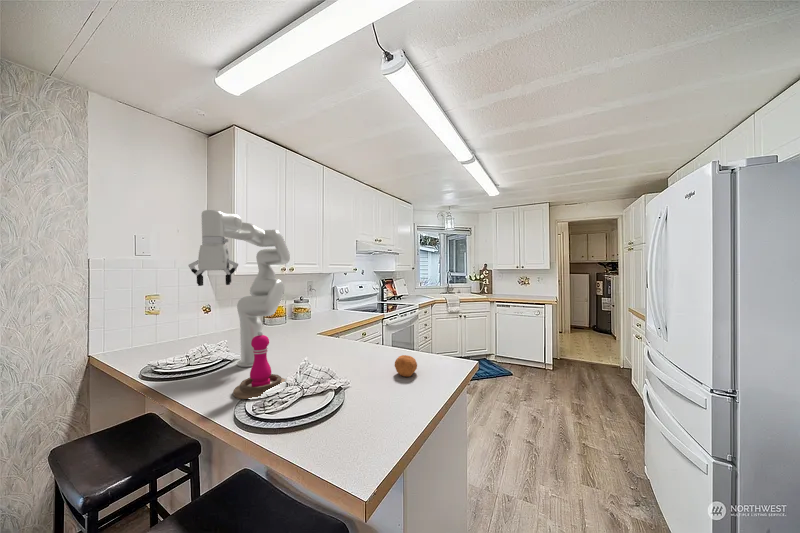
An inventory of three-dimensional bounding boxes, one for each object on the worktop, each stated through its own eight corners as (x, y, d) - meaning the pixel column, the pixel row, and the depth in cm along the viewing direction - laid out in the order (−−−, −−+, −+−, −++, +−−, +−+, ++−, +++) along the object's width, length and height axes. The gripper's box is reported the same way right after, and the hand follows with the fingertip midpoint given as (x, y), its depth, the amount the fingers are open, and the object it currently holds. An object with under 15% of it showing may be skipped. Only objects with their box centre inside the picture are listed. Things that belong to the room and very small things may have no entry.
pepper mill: (263, 390, 106) (262, 333, 106) (245, 388, 108) (244, 332, 108) (275, 382, 113) (274, 329, 113) (258, 381, 115) (257, 328, 115)
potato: (390, 377, 120) (389, 358, 120) (400, 368, 130) (400, 350, 130) (412, 380, 116) (411, 360, 116) (420, 370, 127) (420, 352, 127)
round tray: (241, 382, 117) (241, 374, 117) (290, 377, 121) (290, 370, 121) (226, 403, 100) (225, 393, 100) (283, 396, 104) (283, 387, 104)
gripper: (240, 242, 124) (241, 283, 124) (192, 242, 120) (193, 285, 120) (234, 241, 117) (235, 284, 117) (184, 241, 113) (185, 286, 113)
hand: (214, 285), depth 119 cm, fingers open, 9 cm apart
